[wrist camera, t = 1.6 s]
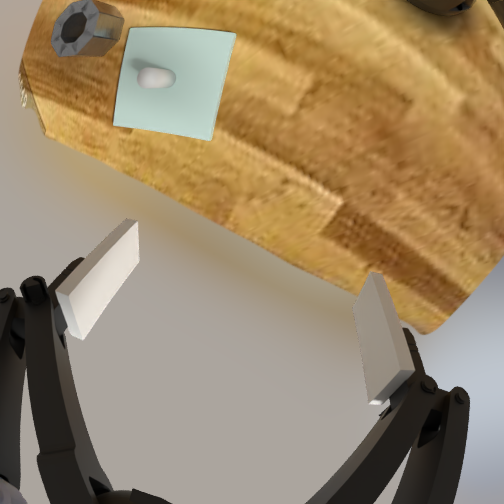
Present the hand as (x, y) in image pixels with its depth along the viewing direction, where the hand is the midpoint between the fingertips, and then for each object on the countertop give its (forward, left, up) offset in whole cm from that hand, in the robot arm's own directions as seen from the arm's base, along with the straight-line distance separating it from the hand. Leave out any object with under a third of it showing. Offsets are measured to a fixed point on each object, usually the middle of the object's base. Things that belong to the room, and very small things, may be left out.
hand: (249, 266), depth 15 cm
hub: (-15, -28, -22) cm, 39 cm away
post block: (-8, -15, -22) cm, 28 cm away
